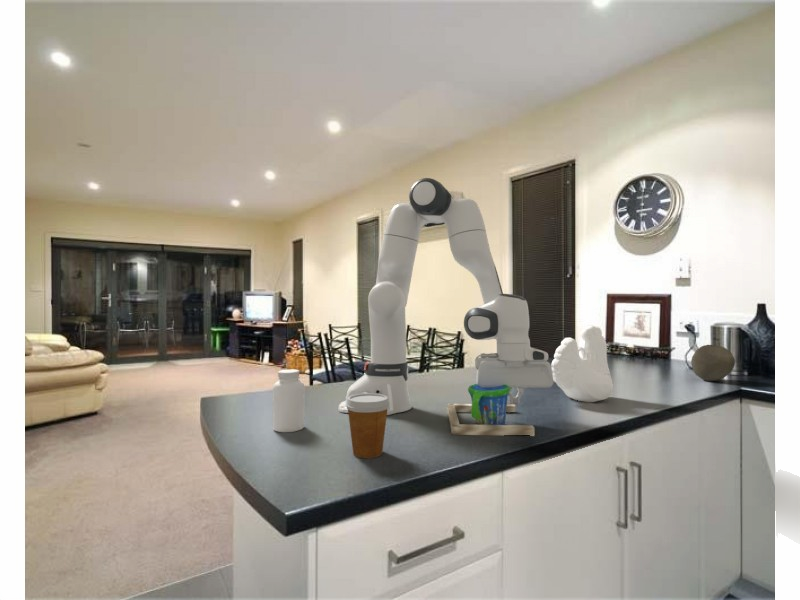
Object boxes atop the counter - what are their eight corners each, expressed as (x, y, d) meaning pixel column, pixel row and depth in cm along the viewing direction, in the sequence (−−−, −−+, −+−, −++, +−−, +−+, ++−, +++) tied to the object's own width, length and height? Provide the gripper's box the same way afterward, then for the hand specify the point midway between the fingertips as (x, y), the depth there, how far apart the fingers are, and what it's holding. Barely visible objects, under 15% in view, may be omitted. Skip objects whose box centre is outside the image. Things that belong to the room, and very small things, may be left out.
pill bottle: (276, 434, 105) (276, 374, 105) (270, 426, 112) (270, 369, 112) (308, 430, 109) (308, 371, 109) (300, 422, 116) (300, 367, 116)
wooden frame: (452, 434, 105) (452, 426, 105) (447, 410, 129) (447, 403, 129) (534, 436, 103) (534, 427, 103) (514, 411, 127) (514, 404, 127)
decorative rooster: (589, 392, 153) (588, 324, 154) (625, 402, 139) (624, 326, 139) (530, 398, 145) (530, 325, 146) (562, 408, 130) (562, 327, 131)
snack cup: (491, 435, 103) (488, 394, 103) (456, 428, 111) (454, 389, 111) (523, 421, 114) (521, 383, 114) (490, 415, 122) (488, 379, 122)
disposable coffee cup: (346, 446, 96) (346, 393, 96) (388, 445, 97) (388, 392, 97) (344, 462, 87) (344, 403, 87) (391, 460, 88) (391, 402, 88)
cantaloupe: (702, 383, 170) (702, 346, 170) (685, 377, 184) (685, 343, 184) (742, 384, 168) (742, 346, 168) (721, 378, 181) (721, 343, 182)
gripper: (476, 354, 113) (477, 406, 113) (554, 353, 112) (555, 406, 112) (473, 352, 120) (474, 401, 119) (547, 351, 118) (548, 401, 118)
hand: (514, 403), depth 116 cm, fingers closed
